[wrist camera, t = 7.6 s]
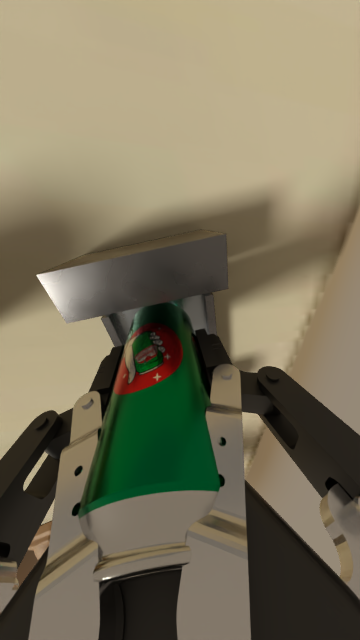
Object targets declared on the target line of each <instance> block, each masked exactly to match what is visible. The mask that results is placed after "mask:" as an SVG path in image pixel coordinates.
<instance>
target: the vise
mask: <svg viewBox="0 0 360 640" xmlns="http://www.w3.org/2000/svg"><path fill="white" fill-rule="evenodd" d="M36 276H37V277H38V279H39V280H40V282H41V284H42V285H43V287H44V288H45V290H46V292H47V293H48V295H49V296H50V298H51V299H52V301H53V303H54V304H55V306H56V307H57V309H58V310H59V312H60V314H61V315H62V317H63V318H64V320H65V321H66V323H71V322H75V321H80V320H85V319H89V318H94V317H99V316H102V318H101V320H102V322H103V324H104V326H105V328H106V330H107V332H108V334H109V336H110V338H111V340H112V342H113V344H114V346H115V347H116V346H121V345H125V344H126V340H127V337H128V333H129V330H130V327H131V323H132V320H133V318H134V316H135V315H136V313H137V312H138V311H139V310H140V309H142V308H143V307H145V306H150V305H155V304H159V303H164V302H166V303H171V304H174V305H176V306H179V307H180V308H182V309H183V310H184V311H185V312H186V313H187V314H188V316H189V317H190V320H191V322H192V326H193V329H194V332H195V330H198V329H203V328H205V330H206V332H207V334H208V335H209V334H215V335H216V336H217V331H216V320H215V309H214V298H213V294H212V292H216V291H220V290H225V289H228V268H227V243H226V234H224V233H219V232H213V231H207V230H197V231H193V232H188V233H183V234H179V235H174V236H170V237H165V238H161V239H156V240H151V241H147V242H142V243H138V244H133V245H128V246H124V247H119V248H115V249H110V250H105V251H101V252H96V253H92V254H87V255H82V256H80V257H78V258H75V259H73V260H71V261H68V262H66V263H63V264H61V265H59V266H56V267H54V268H52V269H49V270H47V271H44V272H42V273H40V274H37V275H36ZM195 336H196V335H195Z"/></svg>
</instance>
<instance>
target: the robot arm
mask: <svg viewBox="0 0 360 640" xmlns="http://www.w3.org/2000/svg"><path fill="white" fill-rule="evenodd" d="M195 335H196V339H197V342H198V346H199V349H200V352H201V356H202V359H203V362H204V366H205V369H206V372H207V376H208V379H209V382H210V386H211V395H210V401H211V406H207V409H206V421H207V425H208V430H209V434H210V438H211V443H212V447H213V452H214V456H215V460H216V465H217V469H218V473H219V474H220V475H221V476H222V477H223V478H224V480H225V484H224V486H223V487H220V489H219V492H218V495H217V498H216V501H215V503H214V506H213V508H212V510H211V511H210V513H209V514H208V515H206V516H205V517H203V518H201V519H199V520H197V521H196V522H194V523H193V524H192V525H191V526H190V527H189V528H188V532H187V539H186V546H189V547H190V549H191V552H192V556H191V560H190V563H189V564H187V565H184V566H182V573H178V574H172V575H167V576H161V577H155V578H150V579H144V580H139V581H133V582H128V583H123V584H118V585H109V582H105V583H101V584H100V583H99V582H94V580H93V571H94V569H95V566H96V564H97V563H99V547H98V544H97V543H96V542H95V541H92V540H89V539H87V538H86V537H85V536H84V534H83V532H82V529H81V525H80V522H79V518H78V515H77V516H75V514H76V510H77V507H78V505H79V503H80V501H81V498H82V494H83V491H84V487H85V484H86V480H87V477H88V473H89V470H90V466H91V463H92V460H93V456H94V453H95V449H96V446H97V442H98V437H99V432H100V429H101V425H102V422H103V418H104V415H105V412H106V408H107V405H108V401H109V398H110V395H111V391H112V388H113V384H114V381H115V378H116V374H117V371H118V367H119V364H120V361H121V357H122V354H123V350H124V347H125V345H121V346H116V347H113V348H112V350H111V353H110V355H108V356H106V357H105V358H104V359H103V361H102V362H101V364H100V367H99V369H98V371H97V374H96V376H95V378H94V381H93V383H92V386H91V388H90V390H89V392H88V393H86V394H84V395H83V396H81V397H80V398H79V399H78V400H77V402H76V403H75V405H74V407H73V408H72V409H70V410H68V411H66V412H64V413H62V414H59V415H58V414H57V413H56V412H55V411H53V410H51V411H47V412H44V413H42V414H41V415H39V416H38V417H37V418H36V419H34V420H33V421H32V423H31V424H30V425H29V426H28V427H27V429H26V430H25V431H24V432H23V433H22V435H21V436H20V437H19V438H18V439H17V441H16V442H15V443H14V444H13V445H12V447H11V448H10V449H9V450H8V452H7V453H6V454H5V455H4V456H3V458H2V459H1V460H0V640H360V435H358V434H357V433H356V432H355V431H354V430H352V429H351V428H350V427H349V426H348V425H346V424H345V423H344V422H343V421H342V420H341V419H339V418H338V417H337V416H336V415H335V414H333V413H332V412H331V411H330V410H329V409H328V408H326V407H325V406H324V405H323V404H322V403H320V402H319V401H318V400H317V399H315V397H313V396H312V395H311V394H310V393H309V392H307V391H306V390H305V389H304V388H303V387H301V386H300V385H299V384H298V383H297V382H296V381H294V380H293V379H292V378H291V377H290V376H288V375H287V374H286V373H285V372H284V371H282V370H281V369H279V368H276V367H272V366H266V367H262V368H261V369H259V371H258V373H250V372H243V371H240V370H238V369H237V368H236V367H235V366H233V364H232V363H231V361H230V359H229V357H228V355H227V353H226V351H225V349H224V347H223V345H222V343H221V341H220V339H219V337H218V336H216V335H215V334H209V335H208V334H207V332H206V330H205V328H203V329H198V330H195ZM242 412H248V413H256V414H258V415H259V416H260V418H261V419H262V420H263V422H264V423H265V424H266V425H267V427H268V428H269V429H270V431H271V432H272V433H273V435H274V436H275V437H276V439H277V440H278V441H279V442H280V444H281V445H282V446H283V448H284V449H285V450H286V452H287V453H288V454H289V455H290V457H291V458H292V459H293V461H294V462H295V463H296V464H297V466H298V467H299V468H300V470H301V471H302V472H303V474H304V475H305V476H306V478H307V479H308V480H309V482H310V483H311V484H312V485H313V487H314V488H315V489H316V491H317V492H318V493H319V495H320V496H321V497H322V500H321V502H320V515H321V518H322V521H323V524H324V526H325V528H326V530H327V531H328V533H329V535H330V537H331V538H332V540H333V542H334V544H335V546H336V549H337V552H338V555H339V559H340V565H341V573H340V577H339V576H338V575H337V574H336V573H335V572H334V571H333V570H332V569H331V568H330V567H329V566H328V565H327V564H326V563H325V562H324V561H323V560H322V559H321V558H320V556H319V555H318V554H317V553H316V552H315V551H313V549H312V548H311V547H310V546H309V545H308V544H307V543H306V542H305V541H304V540H303V539H302V538H301V537H300V536H299V535H298V534H297V533H296V532H295V531H294V530H293V529H292V528H291V527H290V526H289V525H288V523H287V522H286V521H285V520H284V519H283V518H282V517H280V515H279V514H278V513H277V512H276V511H275V510H274V509H273V508H272V507H271V506H270V505H269V504H268V503H267V502H266V501H265V500H264V499H263V498H262V497H261V496H260V495H259V494H258V492H257V491H256V490H255V489H254V488H253V487H252V486H251V485H250V484H249V483H248V482H247V481H246V480H245V479H244V452H243V425H242ZM219 443H221V444H223V445H225V446H220V445H219ZM44 451H45V452H46V453H47V454H49V455H48V456H47V458H46V459H45V461H44V462H43V464H42V465H41V467H40V469H39V470H38V472H37V473H36V475H35V476H34V478H33V479H32V481H31V483H30V484H29V486H28V487H27V489H26V490H25V491H24V490H23V485H24V482H25V480H26V478H27V476H28V475H29V473H30V472H31V470H32V469H33V467H34V466H35V464H36V463H37V462H38V460H39V459H40V457H41V456H42V454H43V453H44ZM54 499H55V503H54V511H53V519H52V526H51V534H50V542H49V546H48V548H47V549H46V550H45V552H44V553H43V555H42V556H41V558H40V559H39V560H38V562H37V563H36V565H35V566H34V567H33V569H32V570H31V572H30V573H29V574H28V576H27V577H26V579H25V580H24V581H23V583H22V584H21V586H20V587H19V588H18V586H19V582H18V580H17V579H16V575H17V569H18V567H19V565H20V563H21V561H22V559H23V558H24V556H25V554H26V552H27V550H28V548H29V546H30V544H31V542H32V540H33V539H34V537H35V535H36V533H37V531H38V529H39V527H40V525H41V523H42V521H43V520H44V518H45V516H46V514H47V512H48V510H49V508H50V506H51V504H52V502H53V500H54Z"/></svg>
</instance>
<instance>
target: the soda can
mask: <svg viewBox="0 0 360 640" xmlns="http://www.w3.org/2000/svg"><path fill="white" fill-rule="evenodd" d="M210 395H211V386H210V382H209V379H208V376H207V372H206V369H205V366H204V362H203V359H202V356H201V352H200V349H199V346H198V342H197V339H196V336H195V332H194V329H193V326H192V322H191V320H190V317H189V316H188V314H187V313H186V312H185V311H184V310H183V309H182V308H180V307H179V306H176V305H174V304H171V303H166V302H164V303H159V304H155V305H150V306H145V307H143V308H142V309H140V310H139V311H138V312H137V313H136V315H135V316H134V318H133V320H132V323H131V327H130V330H129V333H128V337H127V340H126V344H125V347H124V350H123V354H122V357H121V361H120V364H119V367H118V371H117V374H116V378H115V381H114V384H113V388H112V391H111V395H110V398H109V401H108V405H107V408H106V412H105V415H104V418H103V422H102V425H101V429H100V432H99V437H98V442H97V446H96V449H95V453H94V456H93V460H92V463H91V466H90V470H89V473H88V477H87V480H86V484H85V487H84V491H83V494H82V498H81V501H80V503H79V505H78V507H77V510H76V514H75V516H77V515H78V518H79V522H80V525H81V529H82V532H83V534H84V536H85V537H86V538H87V539H89V540H92V541H95V542H96V543H97V544H98V547H99V563H97V564H96V566H95V569H94V571H93V580H94V582H99V583H100V584H101V583H105V582H109V585H118V584H123V583H128V582H133V581H139V580H144V579H150V578H155V577H161V576H167V575H172V574H178V573H182V566H184V565H187V564H189V563H190V560H191V556H192V552H191V549H190V547H189V546H186V539H187V532H188V528H189V527H190V526H191V525H192V524H193V523H194V522H196V521H197V520H199V519H201V518H203V517H205V516H206V515H208V514H209V513H210V511H211V510H212V508H213V506H214V503H215V501H216V498H217V495H218V492H219V489H220V487H223V486H224V484H225V480H224V478H223V477H222V476H221V475H220V474H219V473H218V469H217V465H216V460H215V456H214V452H213V447H212V443H211V438H210V434H209V430H208V425H207V421H206V409H207V406H211V401H210ZM219 445H220V446H225V445H223V444H221V443H219Z"/></svg>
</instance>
